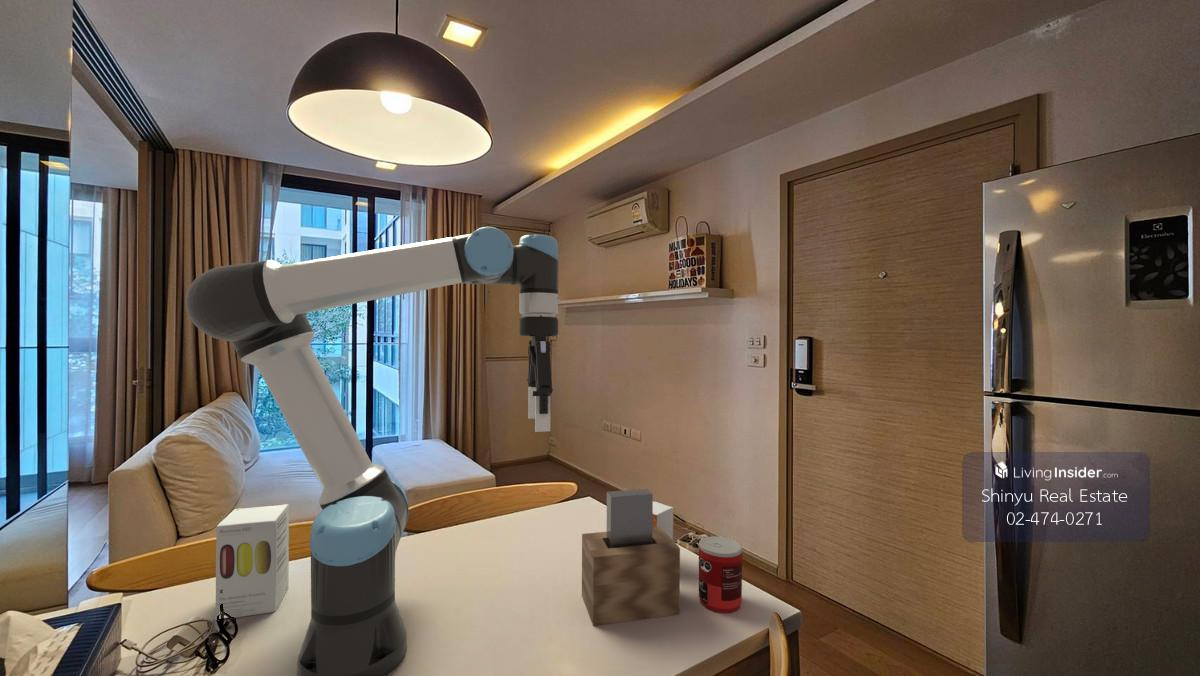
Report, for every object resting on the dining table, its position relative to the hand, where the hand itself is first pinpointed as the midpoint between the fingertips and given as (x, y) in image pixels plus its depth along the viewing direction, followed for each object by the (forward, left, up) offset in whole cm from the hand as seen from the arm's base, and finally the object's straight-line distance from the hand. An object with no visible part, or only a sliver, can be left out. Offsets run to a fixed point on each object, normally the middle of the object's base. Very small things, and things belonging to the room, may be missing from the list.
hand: (538, 424), depth 97 cm
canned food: (+33, -12, -33) cm, 48 cm away
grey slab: (+16, -9, -26) cm, 32 cm away
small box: (+25, +5, -33) cm, 42 cm away
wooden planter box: (+16, -9, -33) cm, 38 cm away
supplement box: (-52, +7, -33) cm, 62 cm away
